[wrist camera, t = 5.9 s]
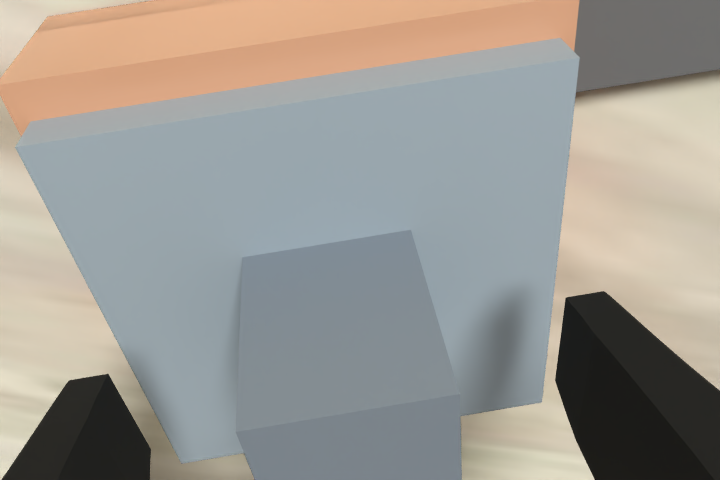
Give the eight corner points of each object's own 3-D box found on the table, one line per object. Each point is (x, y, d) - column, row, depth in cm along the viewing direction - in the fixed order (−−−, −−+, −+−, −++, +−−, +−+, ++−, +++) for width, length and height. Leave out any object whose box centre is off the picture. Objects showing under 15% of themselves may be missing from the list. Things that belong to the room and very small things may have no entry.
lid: (530, 375, 16) (606, 557, 12) (184, 434, 15) (161, 635, 12) (560, 37, 10) (709, 191, 7) (30, 121, 10) (-90, 322, 7)
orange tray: (519, -56, 12) (579, -7, 10) (504, 286, 18) (541, 369, 15) (47, 16, 12) (-5, 85, 10) (184, 339, 18) (172, 432, 15)
